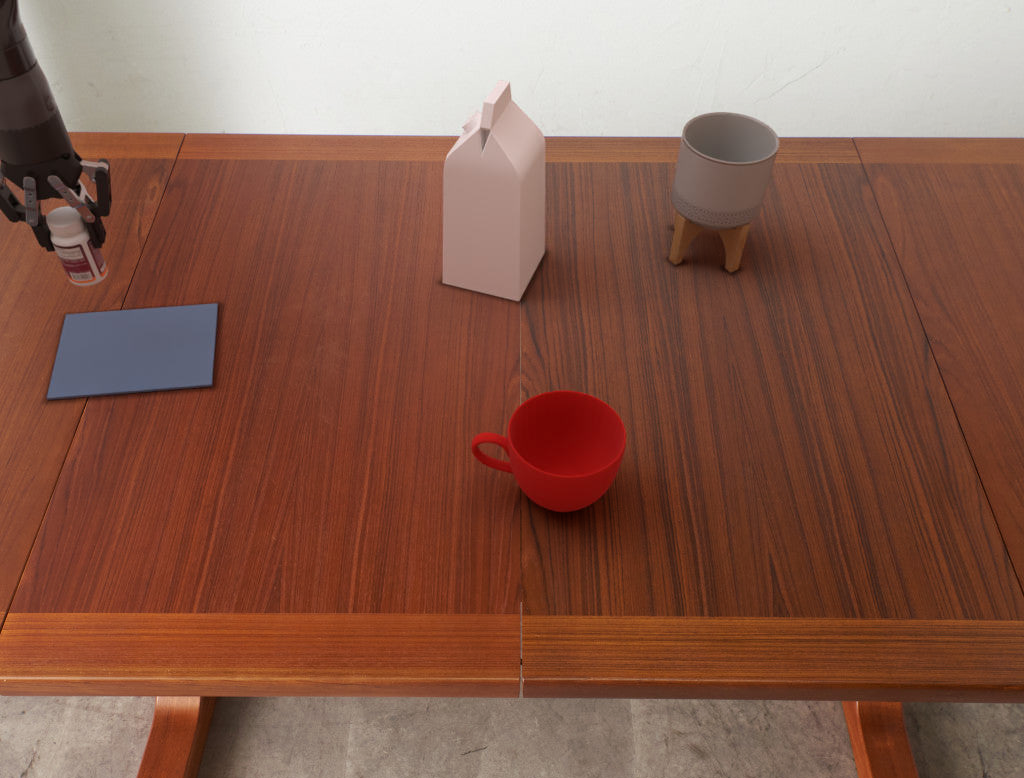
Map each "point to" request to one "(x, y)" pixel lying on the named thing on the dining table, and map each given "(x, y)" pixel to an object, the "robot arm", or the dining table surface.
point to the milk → (494, 200)
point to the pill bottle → (75, 247)
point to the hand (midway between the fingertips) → (75, 245)
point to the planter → (721, 180)
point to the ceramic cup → (560, 449)
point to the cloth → (135, 351)
